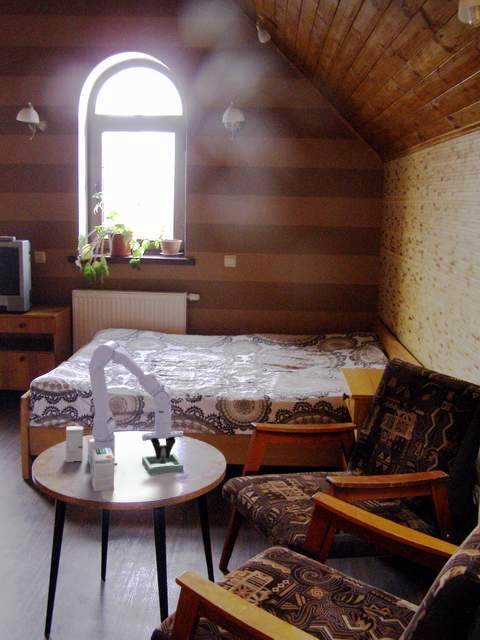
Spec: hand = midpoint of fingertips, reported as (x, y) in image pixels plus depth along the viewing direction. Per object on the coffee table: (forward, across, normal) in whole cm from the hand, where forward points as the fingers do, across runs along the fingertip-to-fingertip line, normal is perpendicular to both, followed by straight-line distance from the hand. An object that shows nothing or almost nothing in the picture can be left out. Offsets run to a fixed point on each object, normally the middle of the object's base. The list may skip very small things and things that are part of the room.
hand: (162, 457), depth 236 cm
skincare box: (+3, -29, +15) cm, 33 cm away
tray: (+3, 0, 0) cm, 3 cm away
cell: (+2, 0, 0) cm, 2 cm away
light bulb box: (+3, -23, -10) cm, 25 cm away
